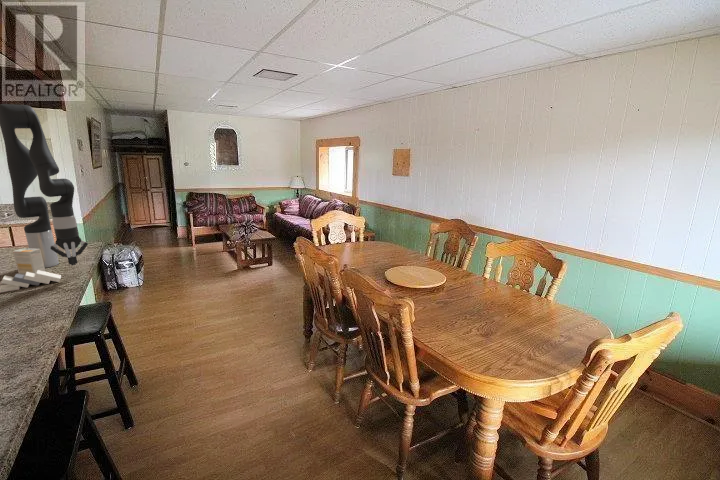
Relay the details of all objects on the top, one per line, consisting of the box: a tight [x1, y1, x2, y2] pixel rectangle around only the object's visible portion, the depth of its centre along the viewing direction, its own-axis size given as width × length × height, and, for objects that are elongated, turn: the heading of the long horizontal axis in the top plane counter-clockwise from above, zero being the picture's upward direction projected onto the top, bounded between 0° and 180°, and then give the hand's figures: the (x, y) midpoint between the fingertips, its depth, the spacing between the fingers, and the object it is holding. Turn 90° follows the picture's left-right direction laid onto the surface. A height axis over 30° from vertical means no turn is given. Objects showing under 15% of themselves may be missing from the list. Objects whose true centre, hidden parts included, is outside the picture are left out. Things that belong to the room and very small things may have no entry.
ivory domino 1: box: [0, 275, 30, 289], centre depth 137 cm, size 5×2×8 cm
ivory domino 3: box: [24, 272, 51, 285], centre depth 141 cm, size 5×2×8 cm
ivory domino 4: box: [35, 270, 62, 283], centre depth 143 cm, size 5×2×8 cm
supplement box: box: [12, 247, 47, 275], centre depth 146 cm, size 8×5×13 cm, turn 84°
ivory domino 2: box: [0, 284, 21, 293], centre depth 135 cm, size 5×2×8 cm
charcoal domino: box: [13, 272, 41, 287], centre depth 139 cm, size 5×2×8 cm
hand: (73, 264), depth 147 cm, fingers closed
